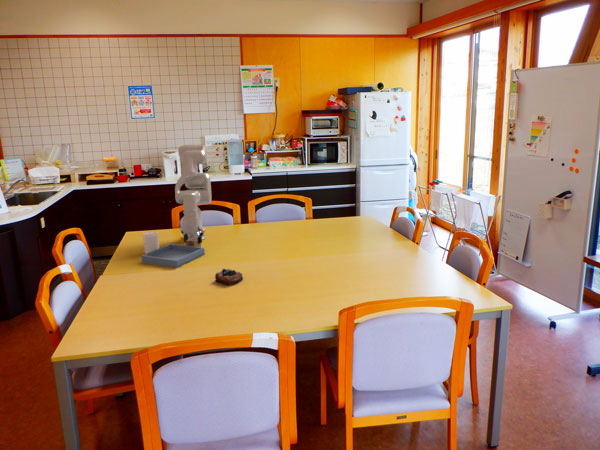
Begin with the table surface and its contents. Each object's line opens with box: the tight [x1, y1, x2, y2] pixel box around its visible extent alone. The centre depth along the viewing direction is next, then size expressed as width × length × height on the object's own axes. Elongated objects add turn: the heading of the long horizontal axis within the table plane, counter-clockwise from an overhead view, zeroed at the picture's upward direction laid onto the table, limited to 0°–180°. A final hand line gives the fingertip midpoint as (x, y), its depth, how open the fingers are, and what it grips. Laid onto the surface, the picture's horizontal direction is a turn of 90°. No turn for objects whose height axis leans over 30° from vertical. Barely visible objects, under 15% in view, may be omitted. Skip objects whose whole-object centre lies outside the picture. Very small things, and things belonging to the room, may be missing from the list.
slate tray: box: [140, 243, 206, 269], centre depth 264 cm, size 24×24×4 cm
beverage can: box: [142, 230, 160, 254], centre depth 274 cm, size 8×8×12 cm
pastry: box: [214, 268, 244, 286], centre depth 229 cm, size 11×12×6 cm
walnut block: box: [185, 238, 202, 248], centre depth 280 cm, size 6×6×6 cm
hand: (193, 242), depth 278 cm, fingers open, 9 cm apart
